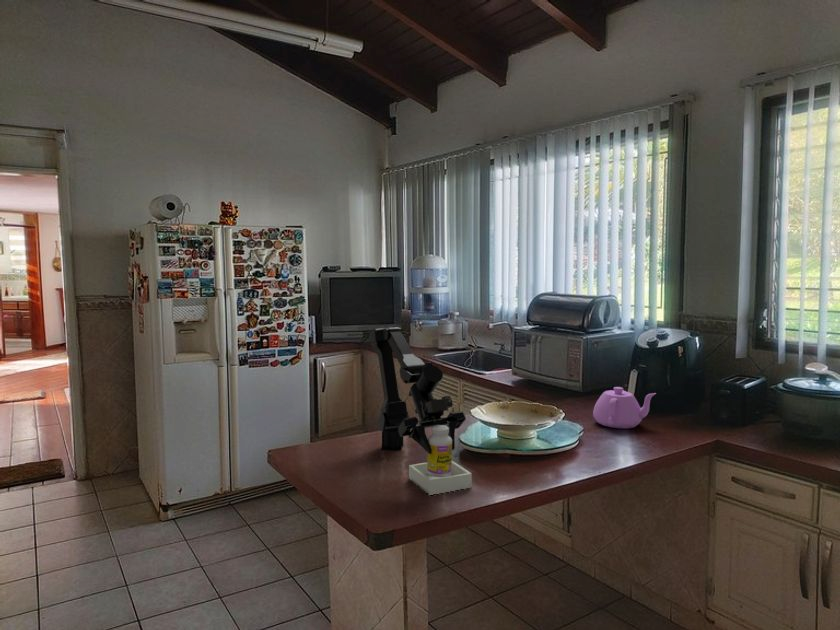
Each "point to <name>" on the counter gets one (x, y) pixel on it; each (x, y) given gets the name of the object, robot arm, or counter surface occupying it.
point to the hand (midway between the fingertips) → (442, 451)
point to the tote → (440, 479)
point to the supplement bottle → (440, 452)
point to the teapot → (620, 409)
